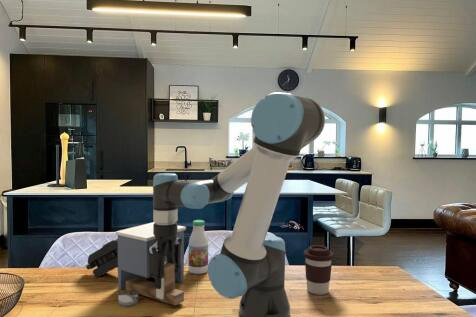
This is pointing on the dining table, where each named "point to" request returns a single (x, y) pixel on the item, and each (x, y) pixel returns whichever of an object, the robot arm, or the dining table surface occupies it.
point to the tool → (104, 258)
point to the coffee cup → (318, 269)
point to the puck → (128, 298)
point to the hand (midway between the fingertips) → (165, 295)
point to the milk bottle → (198, 249)
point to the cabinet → (141, 253)
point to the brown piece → (149, 288)
